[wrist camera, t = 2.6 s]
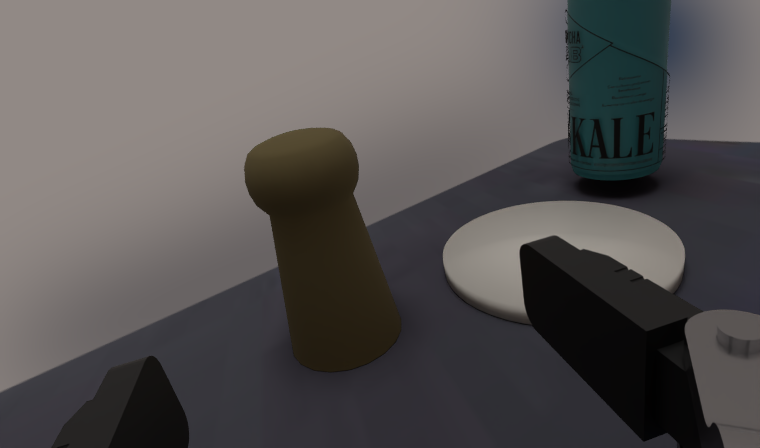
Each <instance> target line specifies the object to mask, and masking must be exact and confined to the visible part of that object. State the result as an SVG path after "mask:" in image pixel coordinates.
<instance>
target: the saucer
mask: <svg viewBox="0 0 760 448" xmlns="http://www.w3.org/2000/svg"><path fill="white" fill-rule="evenodd" d="M552 235H556V236H558V237H560V238H562V239H563V240H565V241H566V242H568V243H570V244H571V245H573V246H574V247H576V248H578V249H579V250H582V249H586V250H590V251H593V252H597V253H601V254H604V255H608V256H610V257H611V258H613V259H615V260H617V261H618V262H620V263H622V264H623V265H625V266H627V268H628V270H630V269H632V270H634V271H635V272H637V273H639V274H640V275H642V276H643V278H644V279H649V280H651V281H652V282H654V283H656V284H657V285H659V286H661V287H662V288H664V289H666V290H668V291H669V292H671V293H674V292H675V291H676V290H677V289H678V287H679V285H680V283H681V281H682V278H683V273H684V262H685V251H684V246H683V244H682V242H681V240H680V238H679V237H678V236H677V235H676V233H675V232H674V231H672V230H671V229H670V228H669V227H668V226H666V225H665V224H663V223H662V222H660V221H658V220H656V219H654V218H652V217H650V216H648V215H645V214H643V213H640V212H638V211H634V210H631V209H627V208H624V207H619V206H615V205H609V204H603V203H595V202H583V201H548V202H537V203H529V204H523V205H517V206H512V207H508V208H504V209H500V210H497V211H494V212H491V213H488V214H486V215H483V216H481V217H479V218H476V219H474V220H472V221H471V222H469V223H467V224H465V225H464V226H462V227H461V228H460V229H458V230H457V231H456V232H455V233H454V234H453V235H452V236H451V237H450V239H449V240H448V241H447V243H446V245H445V247H444V251H443V263H444V269H445V275H446V278H447V281H448V283H449V285H450V287H451V288H452V290H453V291H454V292H455V293H456V294H457V295H458V296H459V297H460V298H461V299H463V300H464V301H465V302H466V303H468V304H470V305H471V306H473V307H475V308H477V309H478V310H481V311H483V312H485V313H488V314H490V315H493V316H496V317H499V318H502V319H505V320H509V321H514V322H518V323H523V324H530V325H532V324H531V322H530V320H529V318H528V316H527V313H526V310H525V306H524V297H523V287H522V277H521V267H520V257H519V252H520V247H521V246H522V245H523V244H526V243H529V242H532V241H536V240H539V239H542V238H546V237H549V236H552Z"/></svg>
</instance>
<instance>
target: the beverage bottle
mask: <svg viewBox="0 0 760 448" xmlns="http://www.w3.org/2000/svg"><path fill="white" fill-rule="evenodd" d="M670 9H671V0H568V12H567V13H568V23H567V24H568V33H567V32H566V31H565V33H566V43H567V40H568V53H569V55H568V54H567V55H566V56H569V58H566V60H567V59H569V61H568V63H569V80H568V81H569V92H567V93H568V94H569V95H570V96H569V98H570V108H569V109H570V110H569V124H568V149H569V142H570V145H571V149H570V150H571V151H569V152H571V156H570V155H569V158H570V157H571V163H570V164H571V165H572V168H573V171H574V172H575V173H576V174H577V175H579V176H581V177H585V178H589V179H595V180H627V179H634V178H639V177H643V176H646V175H649V174H652V173H653V172H655V171H657V170H658V169H659V167H660V165H661V162H662V160H663V159H664V158H665V157H664V158H663V159H662V157H663V154H664V153H665V152H664V151H665V150H664V151H663V147H664V146H665V145H666V144H665V145H664V146H663V143H664V142H663V140H664V139H665V138H664V132H665V131H666V130H667V128H666V130H664V127H665V126H666V125H665V126H664V121H665V110H666V109H665V106H666V93H667V92H666V88H667V73H668V72H667V57H668V41H669V25H670ZM566 11H567V10H566ZM668 75H669V74H668ZM669 76H670V75H669ZM569 98H567V99H569ZM667 99H668V98H667ZM567 101H568V100H567ZM667 103H668V102H667ZM569 126H570V128H569ZM569 129H570V130H569ZM569 131H570V133H569ZM569 137H570V141H569ZM665 141H666V139H665ZM665 149H666V146H665Z"/></svg>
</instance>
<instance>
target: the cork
mask: <svg viewBox="0 0 760 448" xmlns="http://www.w3.org/2000/svg"><path fill="white" fill-rule="evenodd" d="M244 171H245V183H246V186H247V188H248V192H249V195H250V196H251V198H252V199H253V201H254V202H255V204H256V205H257V206H258V207H259V208H260V209H262V210H263V211H264V212H266V213H267V214H268V215H270V220H271V226H272V231H273V237H274V243H275V249H276V255H277V261H278V266H279V272H280V278H281V284H282V290H283V295H284V301H285V307H286V313H287V319H288V324H289V330H290V336H291V342H292V348H293V353H294V356H295V358H296V359H297V360H298V361H299V362H300V364H301V365H304V366H306V367H308V368H310V369H312V370H316V371H325V372H336V371H344V370H351V369H353V368H356V367H359V366H362V365H365V364H368V363H370V362H371V361H373V360H375V359H376V358H378V357H379V356H381V355H383V354H384V353H385V352H386V351H387V350H388V349H389V348H390V347H391V346H392V345H393V344H394V343H395V342H396V340H397V338H398V336H399V334H400V332H401V318H400V315H399V313H398V310H397V308H396V305H395V302H394V300H393V297H392V294H391V292H390V289H389V286H388V284H387V281H386V279H385V276H384V273H383V271H382V268H381V265H380V263H379V260H378V258H377V255H376V252H375V250H374V247H373V244H372V242H371V239H370V237H369V234H368V231H367V229H366V226H365V223H364V221H363V218H362V216H361V213H360V210H359V208H358V205H357V202H356V200H355V197H354V195H353V192H354V190H355V187H356V185H357V182H358V175H359V174H358V173H359V172H358V171H359V164H358V159H357V154H356V152H355V150H354V148H353V146H352V143H351V142H350V141H349V140H348V139H347V138H346V137H345V136H344V135H343V133H341V132H340V131H337V130H335V129H331V128H307V129H299V130H294V131H290V132H286V133H283V134H280V135H277V136H275V137H272V138H270V139H268V140H266V141H264V142H262V143H260V144H258V145H257V146H255V147H254V148H253V149H252V150H251V151H250V152H249V153H248V155H247V158H246V162H245V169H244Z"/></svg>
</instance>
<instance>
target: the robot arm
mask: <svg viewBox="0 0 760 448" xmlns="http://www.w3.org/2000/svg"><path fill="white" fill-rule="evenodd" d="M519 257H520V267H521V277H522V287H523V297H524V306H525V310H526V313H527V316H528V318H529V320H530V322H531V324H532V326H533V327H534V328H535V330H536V331H537V332H538V333H539V334H540V335H541V336H542V337H543V338H544V339H545V340H546V341H547V342H548V343H549V344H550V345H551V346H552V347H553V349H554V350H555V351H556V352H557V353H558V354H559V355H560V356H561V357H562V358H563V359H564V360H565V361H566V362H567V363H568V364H569V365H570V366H571V367H572V368H573V369H574V370H575V371H576V372H577V373H578V374H579V375H580V376H581V377H582V379H583V380H584V381H585V382H586V383H587V384H588V385H589V386H590V387H591V388H592V389H593V390H594V391H595V392H596V393H597V394H598V395H599V396H600V397H601V398H602V399H603V400H604V401H605V402H606V403H607V404H608V405H609V406H610V408H611V409H612V410H613V411H614V412H615V413H616V414H617V415H618V416H619V417H620V418H621V419H622V420H623V421H624V422H625V423H626V424H627V425H628V426H629V427H630V428H631V429H632V430H633V431H634V432H635V433H636V434H637V435H638V436H639V438H640V439H641V440H642V441H643V442H644V441H647V440H650V439H652V438H655V437H657V436H660V435H663V434H665V433H668V434H669V435H670V436H672V437H673V438H674V439H675V440H676V441H677V448H760V315H757V314H753V313H749V312H743V311H736V310H711V311H706V312H703V311H702V310H700V309H698V308H696V307H695V306H693V305H691V304H690V303H688V302H686V301H685V300H683V299H681V298H679V297H678V296H676V295H674V294H673V293H671V292H669V291H668V290H666V289H664V288H662V287H661V286H659V285H657V284H656V283H654V282H652V281H651V280H649V279H644V278H643V276H642V275H640V274H639V273H637V272H635V271H634V270H632V269H630V270H628V268H627V266H625V265H623V264H622V263H620V262H618V261H617V260H615V259H613V258H611V257H610V256H608V255H604V254H601V253H597V252H593V251H590V250H586V249H582V250H579V249H578V248H576V247H574V246H573V245H571V244H570V243H568V242H566V241H565V240H563V239H562V238H560V237H558V236H556V235H552V236H549V237H546V238H542V239H539V240H536V241H532V242H529V243H526V244H523V245H522V246H521V247H520V252H519ZM188 443H189V428H188V422H187V418H186V415H185V412H184V410H183V408H182V406H181V404H180V402H179V400H178V398H177V396H176V394H175V392H174V390H173V388H172V386H171V384H170V382H169V380H168V378H167V376H166V374H165V372H164V370H163V368H162V366H161V364H160V362H159V361H158V360H157V359H156V358H155V357H154V356H148V357H145V358H142V359H138V360H135V361H132V362H128V363H125V364H122V365H118V366H115V367H112V368H111V369H110V370H109V371H108V372H107V374H106V376H105V378H104V380H103V382H102V384H101V386H100V387H99V389H98V391H97V393H96V395H95V397H94V399H93V400H90V401H87V402H86V403H85V404H84V405H83V406H82V407H81V408H80V409H79V410H78V411H77V412H76V413H75V414H74V415H73V417H72V418H71V419H70V420H69V421H68V422H67V423H66V424H65V425H64V426H63V428H62V430H61V432H60V433H59V435H58V437H57V439H56V440H55V442H54V444H53V446H52V447H51V448H188Z"/></svg>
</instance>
